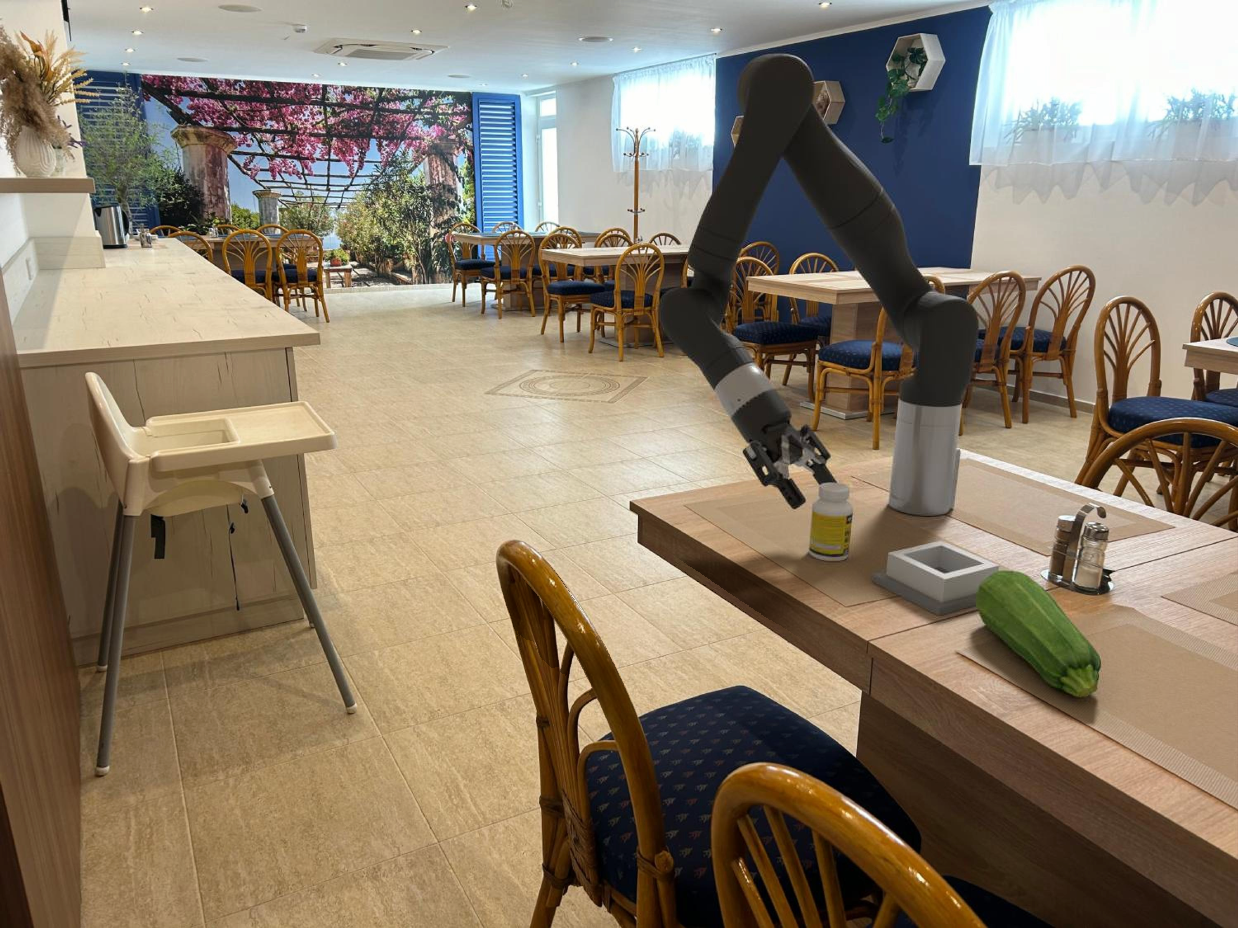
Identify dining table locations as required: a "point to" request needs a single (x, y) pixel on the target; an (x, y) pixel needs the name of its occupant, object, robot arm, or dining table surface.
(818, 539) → the supplement bottle
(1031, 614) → the vegetable
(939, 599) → the board
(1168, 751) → the dining table surface
